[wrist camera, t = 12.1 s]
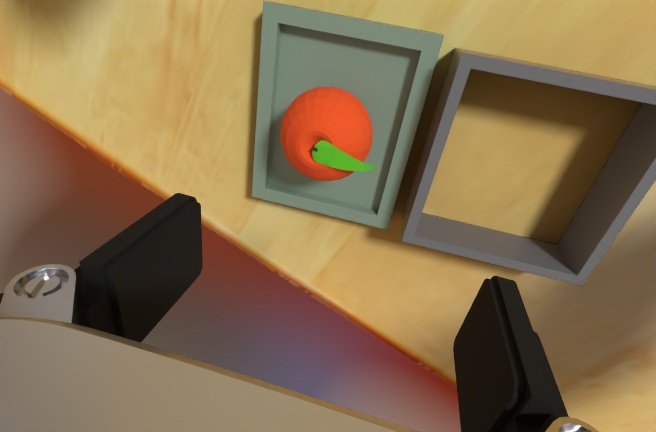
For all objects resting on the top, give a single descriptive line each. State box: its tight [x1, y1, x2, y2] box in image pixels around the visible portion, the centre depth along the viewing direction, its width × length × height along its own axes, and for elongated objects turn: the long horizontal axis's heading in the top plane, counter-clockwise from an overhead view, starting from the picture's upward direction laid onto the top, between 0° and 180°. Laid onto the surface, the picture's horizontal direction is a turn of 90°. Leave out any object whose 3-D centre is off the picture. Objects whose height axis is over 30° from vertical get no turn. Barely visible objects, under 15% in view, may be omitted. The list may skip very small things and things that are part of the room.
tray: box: [252, 1, 444, 230], centre depth 30 cm, size 13×16×2 cm
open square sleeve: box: [402, 48, 656, 286], centre depth 27 cm, size 15×15×4 cm
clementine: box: [280, 87, 379, 181], centre depth 27 cm, size 8×7×7 cm
